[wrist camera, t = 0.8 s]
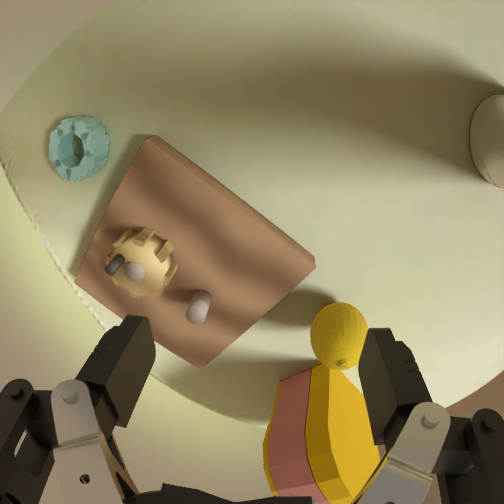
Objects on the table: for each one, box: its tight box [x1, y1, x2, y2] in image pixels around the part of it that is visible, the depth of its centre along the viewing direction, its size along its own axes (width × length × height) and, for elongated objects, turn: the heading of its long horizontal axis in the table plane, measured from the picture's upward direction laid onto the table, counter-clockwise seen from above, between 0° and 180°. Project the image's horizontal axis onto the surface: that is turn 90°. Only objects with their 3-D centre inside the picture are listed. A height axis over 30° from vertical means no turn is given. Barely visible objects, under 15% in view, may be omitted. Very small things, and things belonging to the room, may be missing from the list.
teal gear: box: [48, 115, 110, 182], centre depth 24 cm, size 6×6×2 cm
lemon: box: [310, 303, 368, 370], centre depth 28 cm, size 6×6×8 cm
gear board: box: [74, 135, 316, 369], centre depth 28 cm, size 19×18×6 cm
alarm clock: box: [263, 363, 380, 504], centre depth 30 cm, size 15×8×18 cm, turn 39°
